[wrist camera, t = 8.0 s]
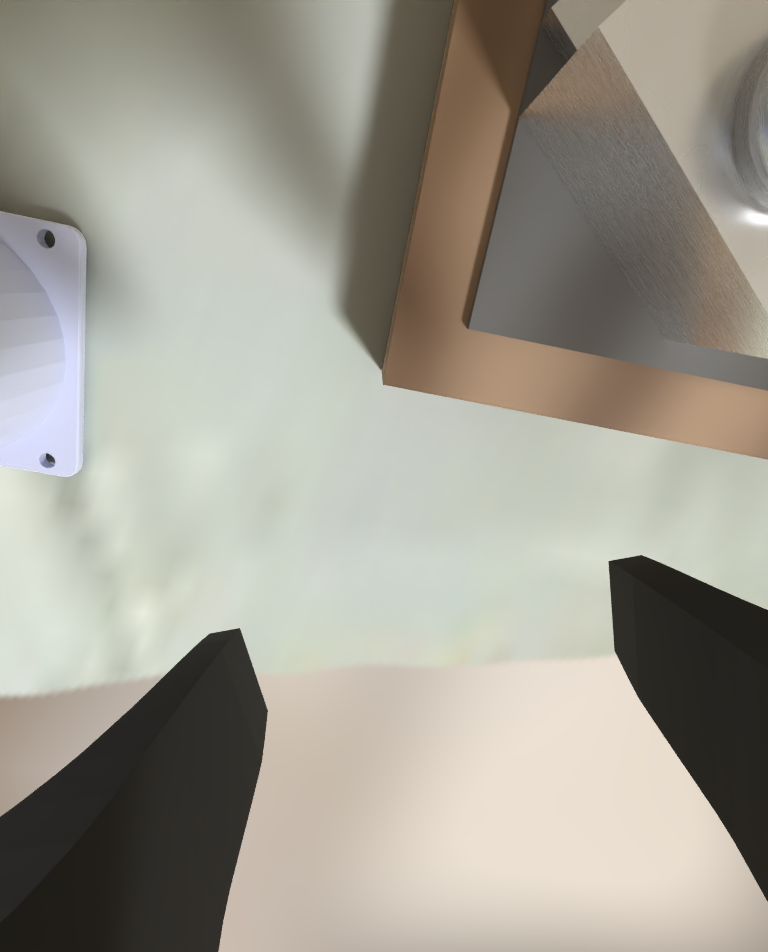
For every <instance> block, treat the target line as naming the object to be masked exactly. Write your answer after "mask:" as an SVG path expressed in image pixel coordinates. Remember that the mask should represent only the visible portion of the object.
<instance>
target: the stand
mask: <svg viewBox="0 0 768 952" xmlns="http://www.w3.org/2000/svg"><path fill="white" fill-rule="evenodd" d="M558 1H559V0H454V4H453V9H452V14H451V19H450V25H449V30H448V35H447V40H446V45H445V50H444V55H443V60H442V65H441V71H440V76H439V81H438V86H437V91H436V96H435V101H434V106H433V112H432V117H431V122H430V127H429V132H428V137H427V142H426V147H425V153H424V158H423V163H422V168H421V173H420V178H419V183H418V188H417V193H416V199H415V204H414V209H413V214H412V219H411V224H410V229H409V234H408V240H407V245H406V250H405V255H404V260H403V265H402V270H401V275H400V280H399V286H398V291H397V296H396V301H395V306H394V311H393V316H392V321H391V327H390V332H389V337H388V342H387V347H386V352H385V357H384V362H383V368H382V379H383V385H388V386H394V387H399V388H404V389H409V390H414V391H419V392H424V393H429V394H435V395H440V396H445V397H450V398H455V399H460V400H465V401H471V402H476V403H481V404H486V405H491V406H496V407H501V408H506V409H512V410H517V411H522V412H527V413H532V414H537V415H542V416H548V417H553V418H558V419H563V420H568V421H573V422H578V423H583V424H589V425H594V426H599V427H604V428H609V429H614V430H619V431H624V432H630V433H635V434H640V435H645V436H650V437H655V438H660V439H666V440H671V441H676V442H681V443H686V444H691V445H696V446H701V447H707V448H712V449H717V450H722V451H727V452H732V453H737V454H743V455H748V456H753V457H758V458H763V459H768V359H766V358H761V357H756V356H750V355H745V354H740V353H734V352H729V351H724V350H719V349H713V348H708V347H703V346H697V345H692V344H687V343H681V342H676V341H671V340H666V339H665V338H664V336H663V335H662V333H661V332H660V330H659V329H658V327H657V326H656V324H655V323H654V321H653V320H652V318H651V317H650V315H649V314H648V312H647V311H646V309H645V308H644V306H643V305H642V303H641V302H640V300H639V299H638V297H637V295H636V294H635V292H634V291H633V289H632V288H631V286H630V285H629V283H628V282H627V280H626V279H625V277H624V276H623V274H622V273H621V271H620V270H619V268H618V267H617V265H616V264H615V262H614V261H613V259H612V258H611V256H610V255H609V253H608V252H607V250H606V249H605V247H604V246H603V244H602V243H601V241H600V240H599V238H598V236H597V235H596V233H595V232H594V230H593V229H592V227H591V226H590V224H589V223H588V221H587V220H586V218H585V217H584V215H583V214H582V212H581V211H580V209H579V208H578V206H577V205H576V203H575V202H574V200H573V199H572V197H571V196H570V194H569V193H568V191H567V190H566V188H565V187H564V185H563V184H562V182H561V181H560V179H559V177H558V176H557V174H556V173H555V171H554V170H553V168H552V167H551V165H550V164H549V162H548V161H547V159H546V158H545V156H544V155H543V153H542V152H541V150H540V149H539V147H538V146H537V144H536V143H535V141H534V140H533V138H532V137H531V135H530V134H529V132H528V131H527V129H526V128H525V126H524V125H523V123H522V122H521V120H520V119H519V117H520V116H521V115H522V113H523V112H524V111H525V110H526V109H527V108H528V107H529V105H530V104H531V103H532V102H533V101H534V100H535V98H536V97H537V96H538V95H539V94H540V93H541V92H542V90H543V89H544V88H545V87H546V86H547V85H548V84H549V82H550V81H551V80H552V79H553V78H554V77H555V76H556V74H557V73H558V72H559V71H560V70H561V69H562V68H563V66H564V65H565V62H564V61H563V59H562V58H561V56H560V54H559V53H558V51H557V49H556V48H555V46H554V45H553V43H552V41H551V40H550V38H549V37H548V35H547V33H546V32H545V30H544V28H543V27H542V25H541V23H542V21H543V20H544V18H545V17H546V15H547V13H548V12H549V10H550V9H551V7H552V6H553V5H554V4H555V3H556V2H558Z"/></svg>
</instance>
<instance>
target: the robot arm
mask: <svg viewBox="0 0 768 952" xmlns="http://www.w3.org/2000/svg"><path fill="white" fill-rule="evenodd" d="M48 231H51V232H52V234H53V235H54V237H55V244H54V246H53V247H52V248H50V247H48V245H47V244H46V243H45V239H44V237H45V233H47V232H48ZM86 256H87V246H86V240H85V238H84V236H83V234H82V233H81V232H80V231H79V230H78V229H77V228H75V227H72V226H70V225H65V224H60V223H56V222H51V221H46V220H41V219H37V218H32V217H27V216H22V215H17V214H13V213H8V212H3V211H0V466H4V467H10V468H16V469H22V470H28V471H33V472H39V473H45V474H51V475H57V476H62V477H69V476H72V475H74V474H75V473H77V472H79V470H80V469H81V468H82V464H83V428H84V371H85V313H86ZM46 453H48V454H50V455H52V456H53V457H54V459H55V464H51V463H49V462H48V460H47V459H46ZM609 574H610V589H611V604H612V619H613V634H614V648H615V652H616V654H617V656H618V658H619V660H620V662H621V664H622V666H623V668H624V670H625V672H626V674H627V676H628V678H629V680H630V682H631V684H632V686H633V688H634V690H635V692H636V694H637V696H638V697H639V699H640V700H641V702H642V704H643V705H644V707H645V708H646V710H647V711H648V713H649V714H650V716H651V717H652V719H653V720H654V722H655V723H656V725H657V726H658V728H659V729H660V731H661V732H662V734H663V735H664V737H665V738H666V739H667V741H668V743H669V744H670V745H671V747H672V749H673V750H674V751H675V753H676V754H677V756H678V757H679V759H680V760H681V762H682V763H683V765H684V766H685V768H686V769H687V770H688V772H689V773H690V775H691V776H692V778H693V779H694V781H695V782H696V784H697V785H698V787H699V788H700V790H701V791H702V793H703V794H704V796H705V797H706V798H707V800H708V801H709V803H710V804H711V806H712V807H713V809H714V810H715V812H716V813H717V815H718V817H719V818H720V820H721V821H722V823H723V824H724V826H725V827H726V829H727V831H728V832H729V834H730V836H731V837H732V839H733V840H734V842H735V844H736V846H737V848H738V849H739V851H740V853H741V855H742V856H743V858H744V860H745V862H746V864H747V865H748V867H749V869H750V871H751V872H752V874H753V876H754V878H755V880H756V882H757V883H758V885H759V887H760V889H761V890H762V892H763V894H764V896H765V898H766V900H767V901H768V610H766V609H764V608H761V607H759V606H757V605H754V604H752V603H749V602H747V601H745V600H742V599H740V598H738V597H735V596H733V595H731V594H729V593H726V592H724V591H722V590H720V589H717V588H715V587H713V586H711V585H708V584H706V583H704V582H702V581H700V580H697V579H695V578H693V577H691V576H689V575H686V574H684V573H682V572H680V571H677V570H675V569H673V568H671V567H669V566H666V565H664V564H662V563H659V562H657V561H655V560H652V559H650V558H647V557H644V556H642V555H640V556H635V557H629V558H624V559H618V560H613V561H609ZM267 712H268V710H267V708H266V704H265V701H264V698H263V695H262V693H261V690H260V687H259V684H258V681H257V678H256V675H255V672H254V669H253V666H252V663H251V660H250V657H249V654H248V651H247V648H246V645H245V642H244V639H243V636H242V633H241V630H240V628H238V629H233V630H227V631H222V632H216V633H211V634H209V635H208V636H206V637H205V638H204V639H203V640H202V641H201V642H199V643H198V644H197V645H196V646H195V647H194V648H193V649H192V650H191V651H190V652H189V653H188V654H187V655H186V656H185V657H184V658H182V659H181V660H180V661H179V662H178V663H177V664H176V665H175V666H174V667H173V668H172V669H171V670H170V671H169V672H168V673H167V674H166V675H165V676H164V677H163V678H162V679H161V680H160V681H159V682H158V683H157V684H156V685H155V686H154V687H153V688H152V689H151V690H150V691H149V692H148V693H147V694H146V695H145V696H143V697H142V698H141V699H140V700H139V702H137V703H136V704H135V705H134V706H133V707H132V708H131V709H130V710H129V711H128V712H127V713H125V714H124V715H123V716H122V717H121V718H120V719H119V720H118V721H117V722H116V723H114V724H113V725H112V726H111V727H110V728H109V729H108V730H107V731H106V732H104V733H103V734H102V735H101V736H100V737H99V738H98V739H97V740H96V741H95V742H93V743H92V744H91V745H90V746H89V747H88V748H87V749H86V750H85V751H84V752H82V753H81V754H80V755H79V756H78V757H76V758H75V759H74V760H73V761H72V762H70V763H69V764H68V765H67V766H66V767H64V768H63V769H62V770H61V771H59V772H58V773H57V774H56V775H55V776H53V777H52V778H51V779H49V780H48V781H47V782H46V783H44V784H43V785H42V786H40V787H39V788H38V789H37V790H35V791H34V792H33V793H32V794H30V795H29V796H28V797H26V798H25V799H24V800H23V801H21V802H20V803H19V804H17V805H16V806H15V807H13V808H12V809H11V810H9V811H8V812H6V813H5V814H4V815H2V816H1V817H0V952H218V950H219V943H220V938H221V931H222V925H223V919H224V914H225V910H226V905H227V900H228V895H229V891H230V887H231V883H232V878H233V875H234V871H235V867H236V863H237V859H238V855H239V851H240V847H241V843H242V839H243V835H244V832H245V828H246V824H247V820H248V815H249V812H250V808H251V804H252V800H253V796H254V792H255V788H256V783H257V779H258V775H259V771H260V766H261V763H262V756H263V748H264V741H265V731H266V722H267Z"/></svg>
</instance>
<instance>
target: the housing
mask: <svg viewBox="0 0 768 952" xmlns="http://www.w3.org/2000/svg"><path fill="white" fill-rule="evenodd" d="M541 25H542V27H543V28H544V30H545V32H546V33H547V35H548V37H549V38H550V40H551V41H552V43H553V45H554V46H555V48H556V49H557V51H558V53H559V54H560V56H561V58H562V59H563V61H564V62H565V65H564V66H563V68H562V69H561V70H560V71H559V72H558V73H557V74H556V76H555V77H554V78H553V79H552V80H551V81H550V82H549V84H548V85H547V86H546V87H545V88H544V89H543V90H542V92H541V93H540V94H539V95H538V96H537V97H536V98H535V100H534V101H533V102H532V103H531V104H530V105H529V107H528V108H527V109H526V110H525V111H524V112H523V113H522V115H521V116H520V117H519V119H520V120H521V122H522V123H523V125H524V126H525V128H526V129H527V131H528V132H529V134H530V135H531V137H532V138H533V140H534V141H535V143H536V144H537V146H538V147H539V149H540V150H541V152H542V153H543V155H544V156H545V158H546V159H547V161H548V162H549V164H550V165H551V167H552V168H553V170H554V171H555V173H556V174H557V176H558V177H559V179H560V181H561V182H562V184H563V185H564V187H565V188H566V190H567V191H568V193H569V194H570V196H571V197H572V199H573V200H574V202H575V203H576V205H577V206H578V208H579V209H580V211H581V212H582V214H583V215H584V217H585V218H586V220H587V221H588V223H589V224H590V226H591V227H592V229H593V230H594V232H595V233H596V235H597V236H598V238H599V240H600V241H601V243H602V244H603V246H604V247H605V249H606V250H607V252H608V253H609V255H610V256H611V258H612V259H613V261H614V262H615V264H616V265H617V267H618V268H619V270H620V271H621V273H622V274H623V276H624V277H625V279H626V280H627V282H628V283H629V285H630V286H631V288H632V289H633V291H634V292H635V294H636V295H637V297H638V299H639V300H640V302H641V303H642V305H643V306H644V308H645V309H646V311H647V312H648V314H649V315H650V317H651V318H652V320H653V321H654V323H655V324H656V326H657V327H658V329H659V330H660V332H661V333H662V335H663V336H664V338H665V339H666V340H671V341H676V342H681V343H687V344H692V345H697V346H703V347H708V348H713V349H719V350H724V351H729V352H734V353H740V354H745V355H750V356H756V357H761V358H766V359H768V0H559V1H558V2H556V3H555V4H554V5H553V6H552V7H551V9H550V10H549V12H548V13H547V15H546V17H545V18H544V20H543V21H542V23H541Z"/></svg>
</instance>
